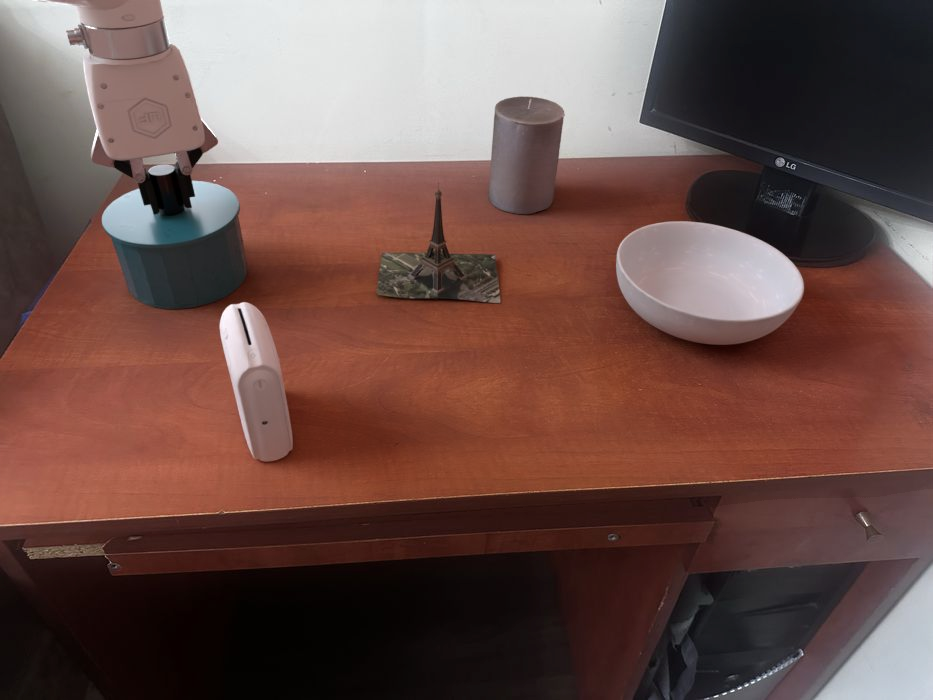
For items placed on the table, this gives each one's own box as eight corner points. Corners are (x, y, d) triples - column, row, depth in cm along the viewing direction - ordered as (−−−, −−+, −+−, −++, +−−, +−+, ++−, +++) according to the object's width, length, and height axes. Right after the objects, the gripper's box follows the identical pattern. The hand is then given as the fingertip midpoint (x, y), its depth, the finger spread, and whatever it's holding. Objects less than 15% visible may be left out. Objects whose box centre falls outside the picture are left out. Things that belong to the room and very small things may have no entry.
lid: (112, 265, 74) (94, 213, 71) (98, 202, 85) (82, 153, 81) (254, 236, 80) (245, 186, 76) (225, 179, 90) (216, 133, 86)
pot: (136, 321, 80) (115, 257, 74) (121, 258, 90) (101, 198, 84) (260, 292, 85) (248, 230, 80) (233, 236, 95) (221, 177, 89)
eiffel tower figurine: (496, 257, 93) (503, 162, 84) (500, 303, 85) (508, 203, 77) (382, 255, 92) (377, 159, 84) (375, 300, 85) (369, 200, 76)
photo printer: (299, 456, 66) (282, 354, 58) (252, 469, 64) (227, 366, 56) (277, 385, 73) (258, 286, 65) (234, 395, 71) (210, 295, 63)
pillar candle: (494, 180, 110) (500, 83, 100) (556, 188, 109) (569, 91, 99) (482, 210, 102) (488, 108, 93) (549, 219, 101) (562, 117, 92)
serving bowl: (823, 337, 82) (846, 288, 78) (688, 393, 74) (705, 342, 70) (698, 250, 96) (711, 205, 92) (572, 290, 88) (580, 242, 83)
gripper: (36, 59, 64) (97, 236, 76) (220, 40, 70) (250, 207, 82) (33, 35, 69) (91, 204, 81) (205, 19, 75) (235, 179, 87)
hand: (170, 204), depth 81 cm, fingers closed on lid, 2 cm apart
